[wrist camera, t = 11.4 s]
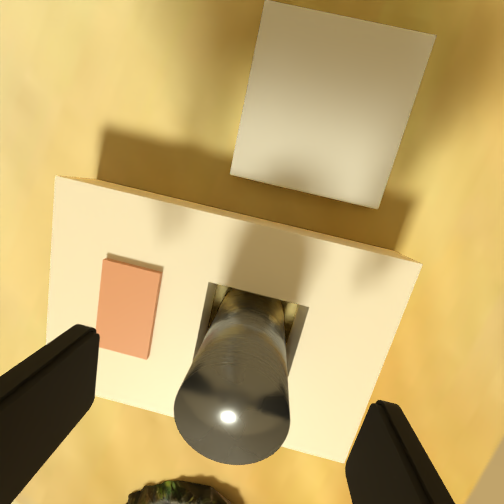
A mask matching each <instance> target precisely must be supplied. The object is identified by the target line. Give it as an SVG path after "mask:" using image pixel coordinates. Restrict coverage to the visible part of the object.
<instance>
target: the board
mask: <svg viewBox="0 0 504 504" xmlns="http://www.w3.org/2000/svg"><path fill="white" fill-rule="evenodd" d="M422 265H423V264H421V263H419V262H417V261H415V260H413V259H411V258H409V257H407V256H404V255H402V254H400V253H398V252H396V251H393V250H389V249H385V248H381V247H377V246H373V245H368V244H364V243H360V242H356V241H352V240H348V239H343V238H339V237H335V236H331V235H327V234H323V233H318V232H314V231H310V230H306V229H302V228H298V227H293V226H289V225H285V224H281V223H277V222H273V221H268V220H264V219H260V218H256V217H252V216H248V215H244V214H239V213H235V212H231V211H227V210H223V209H219V208H214V207H210V206H206V205H202V204H198V203H194V202H189V201H185V200H181V199H177V198H173V197H169V196H164V195H160V194H156V193H152V192H148V191H144V190H140V189H135V188H131V187H127V186H123V185H119V184H115V183H110V182H106V181H102V180H98V179H90V178H78V177H67V176H55V188H54V206H53V224H52V243H51V261H50V279H49V297H48V315H47V333H46V344H48V343H49V342H51V341H52V340H54V339H55V338H57V337H58V336H59V335H61V334H62V333H64V332H65V331H67V330H68V329H69V328H71V327H72V326H74V325H76V324H81V325H85V326H89V327H93V328H95V329H96V333H98V334H99V335H100V342H99V353H98V365H97V376H96V388H95V396H98V397H101V398H105V399H109V400H112V401H116V402H120V403H124V404H127V405H131V406H135V407H138V408H142V409H146V410H149V411H153V412H157V413H160V414H164V415H168V416H171V417H174V402H175V398H176V395H177V393H178V391H179V388H180V386H181V384H182V382H183V380H184V378H185V376H186V374H187V372H188V370H189V368H190V366H191V364H192V362H193V360H194V358H195V356H196V354H197V352H198V350H199V348H200V346H201V344H202V342H203V340H204V338H205V336H206V333H207V329H208V324H209V319H210V314H211V310H212V305H213V300H214V295H215V291H216V286H217V284H220V285H224V286H228V287H232V288H235V289H239V290H243V291H247V292H251V293H255V294H259V295H263V296H267V297H271V298H275V299H279V300H283V301H287V302H291V303H295V304H298V307H297V310H296V314H295V317H294V320H293V324H292V327H291V331H290V334H289V338H288V341H287V344H286V360H287V375H288V391H289V406H290V428H289V432H288V435H287V437H286V439H285V441H284V443H283V444H282V445H281V446H282V447H285V448H289V449H293V450H296V451H300V452H304V453H307V454H311V455H315V456H318V457H322V458H326V459H329V460H333V461H337V462H340V463H344V462H345V460H346V457H347V455H348V452H349V450H350V447H351V445H352V442H353V440H354V437H355V435H356V432H357V430H358V427H359V424H360V422H361V419H362V417H363V414H364V412H365V409H366V407H367V404H368V402H369V399H370V397H371V394H372V392H373V389H374V386H375V384H376V381H377V379H378V376H379V374H380V371H381V369H382V366H383V364H384V361H385V359H386V356H387V354H388V351H389V348H390V346H391V343H392V341H393V338H394V336H395V333H396V331H397V328H398V326H399V323H400V321H401V318H402V316H403V313H404V310H405V308H406V305H407V303H408V300H409V298H410V295H411V293H412V290H413V288H414V285H415V283H416V280H417V278H418V275H419V272H420V270H421V267H422Z"/></svg>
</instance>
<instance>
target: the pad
mask: <svg viewBox="0 0 504 504" xmlns="http://www.w3.org/2000/svg"><path fill="white" fill-rule="evenodd" d="M436 36H437V35H433V34H428V33H423V32H419V31H414V30H409V29H404V28H400V27H395V26H390V25H385V24H380V23H376V22H371V21H366V20H361V19H356V18H352V17H347V16H342V15H337V14H333V13H328V12H323V11H318V10H313V9H309V8H304V7H299V6H294V5H289V4H285V3H280V2H275V1H270V0H265V2H264V7H263V12H262V16H261V21H260V26H259V31H258V36H257V41H256V46H255V51H254V56H253V61H252V66H251V71H250V76H249V81H248V86H247V91H246V96H245V101H244V106H243V111H242V115H241V120H240V125H239V130H238V135H237V140H236V145H235V150H234V155H233V160H232V165H231V170H230V175H232V176H236V177H241V178H245V179H249V180H253V181H258V182H262V183H266V184H270V185H275V186H279V187H283V188H287V189H292V190H296V191H300V192H304V193H309V194H313V195H317V196H321V197H326V198H330V199H334V200H338V201H343V202H347V203H351V204H355V205H360V206H364V207H368V208H373V209H378V208H379V205H380V202H381V199H382V196H383V193H384V190H385V187H386V184H387V181H388V178H389V175H390V172H391V169H392V166H393V163H394V160H395V158H396V155H397V152H398V149H399V146H400V143H401V140H402V137H403V134H404V131H405V128H406V125H407V122H408V119H409V116H410V113H411V110H412V107H413V104H414V101H415V98H416V95H417V92H418V89H419V86H420V83H421V80H422V77H423V74H424V71H425V69H426V66H427V63H428V60H429V57H430V54H431V51H432V48H433V45H434V42H435V39H436Z"/></svg>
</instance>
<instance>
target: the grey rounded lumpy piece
mask: <svg viewBox="0 0 504 504" xmlns="http://www.w3.org/2000/svg"><path fill="white" fill-rule="evenodd" d="M128 498H129V499H128V503H127V504H232V503H231V502H229V501H228V500H227V499H226V498H225V497H223V496H222V495H221V494H220V493H218V492H217V491H216V490H215V489H214V488H212V487H211V486H206V485H201V484H195V483H190V482H185V481H165V482H163V483H162V484H158V485H154V486H145V487H144V488H143V489H142V490H141V491H137V492H135V493H132V494H129V496H128Z"/></svg>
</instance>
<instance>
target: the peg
mask: <svg viewBox="0 0 504 504" xmlns="http://www.w3.org/2000/svg"><path fill="white" fill-rule="evenodd" d="M174 418H175V422H176V425H177V428H178V430H179V432H180V434H181V435H182V437H183V438H184V440H185V441H186V442H187V443H188V444H189V445H190V446H191V447H192V448H193V449H194V450H196V451H197V452H198V453H200V454H201V455H203V456H205V457H207V458H209V459H211V460H214V461H217V462H220V463H224V464H231V465H245V464H251V463H256V462H258V461H261V460H263V459H265V458H268V457H269V456H271V455H272V454H274V453H275V452H276V451H277V450H278V449H279V448H280V447H281V445H282V444H283V443H284V441H285V439H286V437H287V435H288V432H289V428H290V406H289V391H288V375H287V360H286V344H285V329H284V313H283V307H282V304H281V301H280V300H279V299H275V298H271V297H267V296H263V295H259V294H255V293H251V292H247V291H243V290H239V289H235V288H234V289H232V290H231V291H230V292H229V293H228V294H227V295H226V296H225V298H224V300H223V302H222V304H221V306H220V308H219V310H218V312H217V314H216V316H215V318H214V320H213V322H212V324H211V326H210V328H209V330H208V332H207V334H206V336H205V338H204V340H203V342H202V344H201V346H200V348H199V350H198V352H197V354H196V356H195V358H194V360H193V362H192V364H191V366H190V368H189V370H188V372H187V374H186V376H185V378H184V380H183V382H182V384H181V386H180V388H179V391H178V393H177V395H176V398H175V402H174Z"/></svg>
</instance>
